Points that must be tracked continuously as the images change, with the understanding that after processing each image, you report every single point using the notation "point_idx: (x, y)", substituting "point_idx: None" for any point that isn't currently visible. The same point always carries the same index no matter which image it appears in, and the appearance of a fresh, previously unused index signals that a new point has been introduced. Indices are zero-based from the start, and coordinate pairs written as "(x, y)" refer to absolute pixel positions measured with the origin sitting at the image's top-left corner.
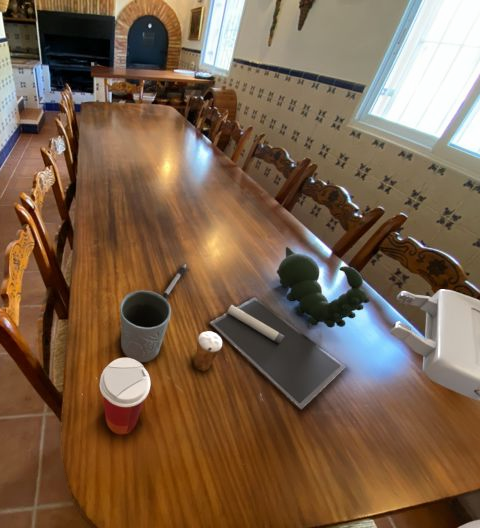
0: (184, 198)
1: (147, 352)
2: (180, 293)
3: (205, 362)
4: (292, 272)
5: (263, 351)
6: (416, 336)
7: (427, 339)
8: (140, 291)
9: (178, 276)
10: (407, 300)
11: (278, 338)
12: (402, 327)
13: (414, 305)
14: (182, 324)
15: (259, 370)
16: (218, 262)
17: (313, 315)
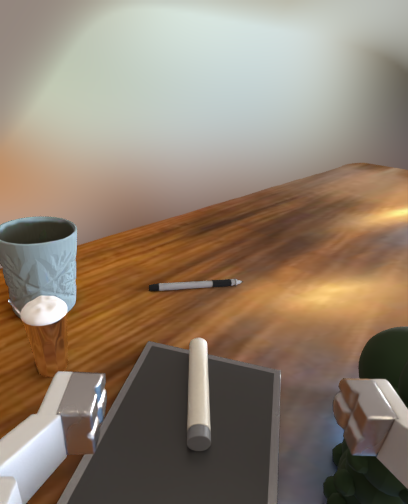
0: (374, 240)
1: (12, 295)
2: (181, 299)
3: (32, 349)
4: (370, 353)
5: (146, 431)
6: (13, 434)
7: (5, 484)
8: (68, 221)
9: (205, 282)
10: (354, 417)
11: (190, 431)
12: (64, 383)
13: (406, 486)
14: (120, 321)
15: None
16: (301, 308)
17: (337, 469)
